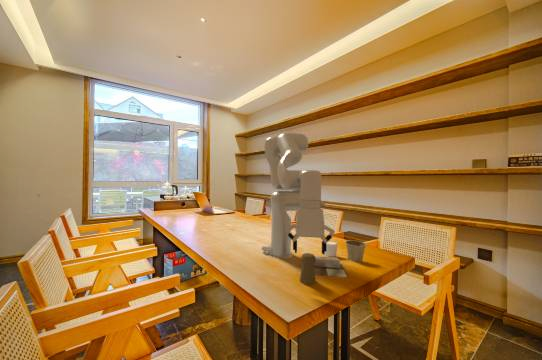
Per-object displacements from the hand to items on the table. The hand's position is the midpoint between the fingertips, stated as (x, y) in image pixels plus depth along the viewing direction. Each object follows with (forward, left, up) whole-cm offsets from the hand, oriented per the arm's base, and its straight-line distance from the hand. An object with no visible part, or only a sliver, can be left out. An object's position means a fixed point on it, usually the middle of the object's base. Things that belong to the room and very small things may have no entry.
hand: (309, 252), depth 84 cm
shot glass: (+12, +33, -12) cm, 37 cm away
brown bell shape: (0, +1, -12) cm, 12 cm away
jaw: (+6, +15, -10) cm, 19 cm away
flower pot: (+23, +29, -12) cm, 38 cm away
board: (+7, +14, -12) cm, 19 cm away
